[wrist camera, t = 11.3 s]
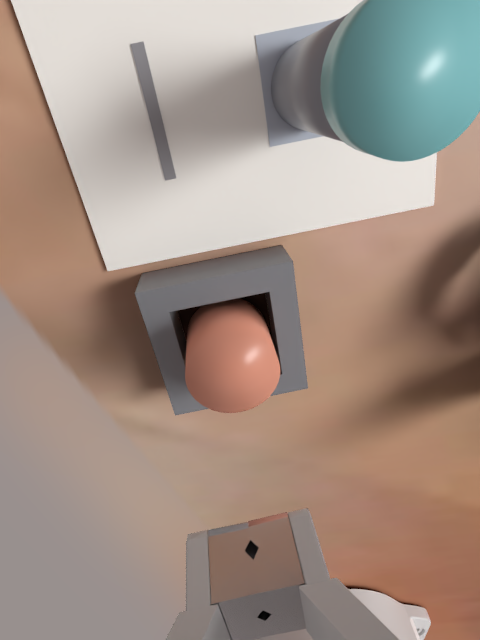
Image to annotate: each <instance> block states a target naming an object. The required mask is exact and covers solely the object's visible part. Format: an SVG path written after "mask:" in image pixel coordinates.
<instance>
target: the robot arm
mask: <svg viewBox="0 0 480 640" xmlns="http://www.w3.org/2000/svg"><path fill="white" fill-rule="evenodd" d="M430 624H431V621H430V619H429V616H428V613H427V610H426V609H425V608H423V607H419V606H413V605H405V604H402V603H399V602H397V601H396V600H394V599H393V598H391V597H389V596H387V595H385V594H382V593H379V592H375V591H370V590H363V589H348V588H347V587H345V586H344V585H343V584H342V583H341V582H340V581H339V580H338V579H337V578H332V579H330V576H329V573H328V570H327V567H326V563H325V560H324V557H323V553H322V550H321V547H320V544H319V540H318V537H317V534H316V530H315V527H314V524H313V521H312V517H311V514H310V512H309V510H308V508H305V509H301V510H296V511H292V512H288V514H287V512H285V513H281V514H277V515H272V516H268V517H264V518H260V519H256V520H251V521H248V522H244V523H240V524H235V525H230V526H225V527H221V528H216V529H211V530H205V531H200V532H196V533H191V534H188V537H187V542H186V611H183V612H180V613H179V615H178V617H177V619H176V621H175V623H174V624H173V627H172V629H171V631H170V632H169V634H168V636H167V638H166V640H424V638H425V636H426V633H427V631H428V629H429V627H430Z"/></svg>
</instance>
